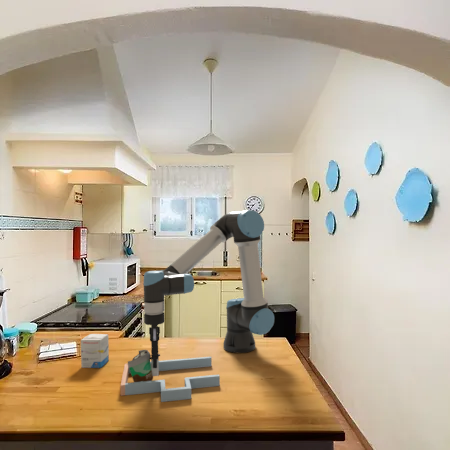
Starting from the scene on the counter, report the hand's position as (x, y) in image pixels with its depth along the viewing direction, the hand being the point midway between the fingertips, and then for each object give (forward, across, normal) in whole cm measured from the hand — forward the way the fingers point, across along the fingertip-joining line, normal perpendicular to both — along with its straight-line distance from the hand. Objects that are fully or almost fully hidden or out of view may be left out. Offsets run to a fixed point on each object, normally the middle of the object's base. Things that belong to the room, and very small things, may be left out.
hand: (155, 375), depth 136 cm
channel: (+2, +4, +6) cm, 7 cm away
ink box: (+2, -22, -25) cm, 33 cm away
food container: (+1, +1, -3) cm, 3 cm away
